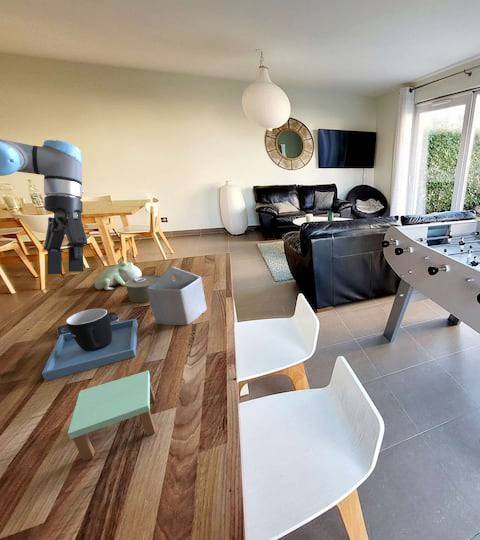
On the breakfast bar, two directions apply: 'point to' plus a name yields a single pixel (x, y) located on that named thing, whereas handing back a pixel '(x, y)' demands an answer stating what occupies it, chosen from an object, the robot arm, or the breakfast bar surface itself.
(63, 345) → the tray
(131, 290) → the can
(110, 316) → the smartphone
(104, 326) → the mug
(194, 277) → the planter
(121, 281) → the figurine
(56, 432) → the breakfast bar surface
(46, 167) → the robot arm
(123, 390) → the stool
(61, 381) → the breakfast bar surface
